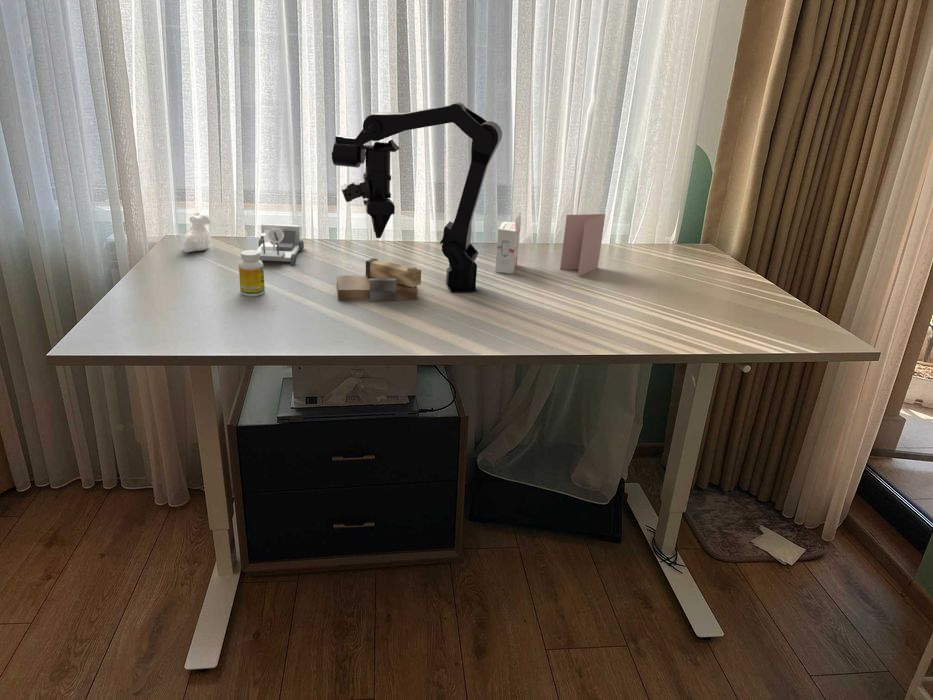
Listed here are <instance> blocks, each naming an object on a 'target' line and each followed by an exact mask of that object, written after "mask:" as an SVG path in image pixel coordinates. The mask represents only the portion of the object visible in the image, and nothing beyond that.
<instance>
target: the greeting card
mask: <svg viewBox="0 0 933 700" xmlns="http://www.w3.org/2000/svg"><path fill="white" fill-rule="evenodd" d="M565 217H566V218H565V225H564V226H565V227H564V235H563V242H562V250H561V251H562V252H561V258H560V265H559V266H560V267H559V270H578V272H577V277H581V276H583V275H585V274H587V273H589V272H592V271H594V270H596V269H599V268H598V267H599V261H600V254H601V249H602V248H601V247H602V243H603V242H602V239H603V233H604V226H605V221H606V220H605V219H606V214H605V213H603V214H602V213H597V214H595V213H594V214H590V213H589V214H566V216H565Z"/></svg>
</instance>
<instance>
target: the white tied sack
mask: <svg viewBox="0 0 933 700" xmlns="http://www.w3.org/2000/svg"><path fill="white" fill-rule="evenodd" d="M210 216H211V215H210V214H209V213H208V212H204V211H201V210H198V211H197V212H195V213H194V214H193V215H192V216H190V217H189V222H190V223H191V224H192V225H191V226H190V227H189V228H188V229H187V230H186V233H185V236H184V237H183V240H182V241H183V243H182V246H183V250H184V253H191V252H200V251H201V252H202V251H206V250H207V248H208V247H209V246H210V244H211V241H212V240H211V239H212V236H211V233H210V231H209V230H208V228H207V226H208V225H210V224H211V220H212V219H211V217H210ZM205 225H207V226H205Z"/></svg>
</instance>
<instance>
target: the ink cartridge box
mask: <svg viewBox="0 0 933 700" xmlns="http://www.w3.org/2000/svg"><path fill="white" fill-rule="evenodd" d="M521 213H522V212H519V214H518V215H517V216H516V217H515V222H512V221H502V222H501V224H500V226H498V229H497V238H496V239H497V241H496V242H497V243H496V255H495V269H494V272H495V273H501V274H511V275H512V274H514V271H515V270H516V267H517V264H518V257H519V255H518V254H519V247H520V245H519V244H520V234H521V225H522V223H521V222H522V217H521V215H522V214H521Z"/></svg>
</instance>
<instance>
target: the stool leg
mask: <svg viewBox="0 0 933 700" xmlns="http://www.w3.org/2000/svg"><path fill="white" fill-rule="evenodd" d="M365 276H367V277H374V278H396V280H397V283H398V284H402V285H406V286H410V287H418V286H420V285H422V269H420V268H417V267H412V266H406V265H403V264H398V263H393V262H390V261H386V260H382V259H381V260H380V259H378V258H375V257H373V258H370V259H368V260H366V261H365Z"/></svg>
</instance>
